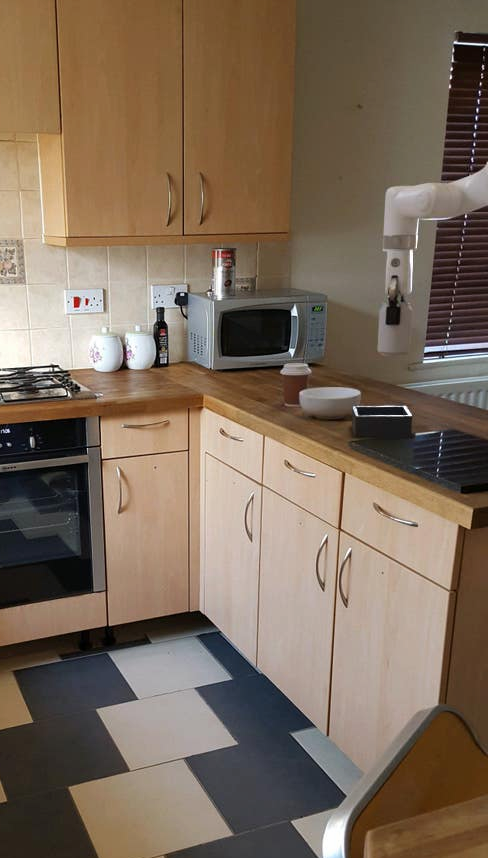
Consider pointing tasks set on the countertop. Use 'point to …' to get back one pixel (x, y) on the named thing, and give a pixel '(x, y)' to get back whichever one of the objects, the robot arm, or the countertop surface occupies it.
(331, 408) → the cereal bowl
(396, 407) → the tote
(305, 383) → the coffee cup
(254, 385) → the countertop surface
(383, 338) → the can
